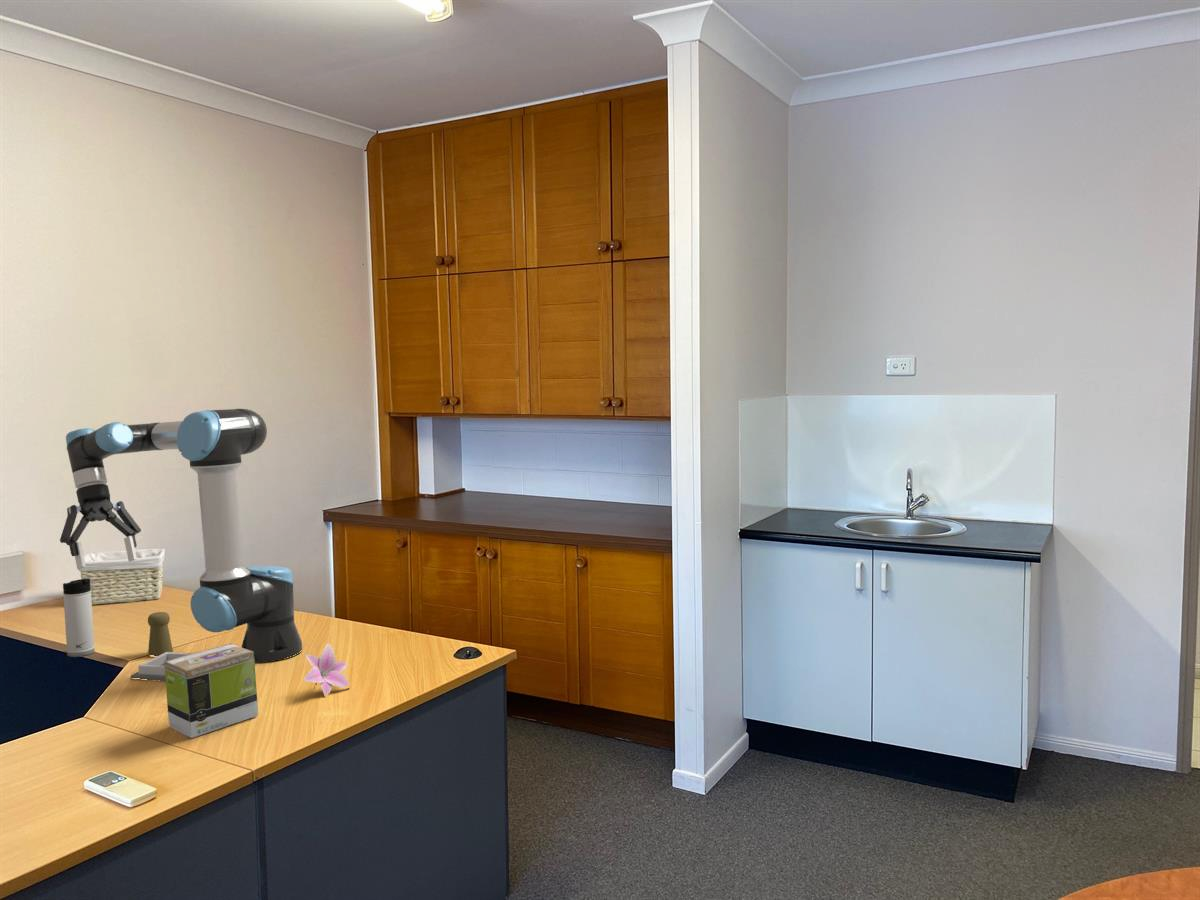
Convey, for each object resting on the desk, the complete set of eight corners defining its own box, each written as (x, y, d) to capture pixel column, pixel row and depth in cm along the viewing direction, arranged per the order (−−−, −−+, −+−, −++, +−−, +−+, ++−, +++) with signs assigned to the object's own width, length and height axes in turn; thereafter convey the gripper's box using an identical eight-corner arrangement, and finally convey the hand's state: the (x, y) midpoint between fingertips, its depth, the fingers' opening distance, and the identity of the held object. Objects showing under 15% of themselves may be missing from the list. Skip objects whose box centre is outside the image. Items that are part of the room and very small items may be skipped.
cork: (177, 649, 237) (175, 609, 236) (167, 657, 231) (164, 616, 230) (154, 650, 237) (152, 610, 236) (143, 657, 231) (141, 616, 230)
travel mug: (83, 658, 231) (78, 582, 229) (61, 656, 232) (56, 581, 230) (101, 650, 237) (96, 576, 235) (79, 648, 238) (75, 575, 236)
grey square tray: (211, 664, 225) (211, 652, 225) (179, 682, 212) (178, 670, 212) (165, 661, 227) (165, 650, 227) (130, 679, 215) (130, 667, 214)
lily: (295, 706, 200) (311, 673, 197) (288, 671, 209) (303, 639, 207) (345, 710, 207) (361, 678, 204) (337, 677, 216) (352, 646, 213)
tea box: (235, 706, 198) (232, 641, 196) (259, 717, 191) (256, 650, 190) (167, 727, 186) (163, 659, 185) (190, 740, 180) (186, 669, 178)
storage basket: (167, 589, 303) (165, 546, 301) (164, 600, 288) (161, 555, 286) (87, 596, 294) (85, 552, 292) (79, 608, 279) (76, 562, 277)
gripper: (129, 487, 249) (145, 560, 246) (35, 494, 228) (51, 574, 225) (144, 479, 245) (160, 554, 243) (49, 485, 224) (66, 567, 221)
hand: (107, 564), depth 234 cm, fingers open, 13 cm apart
